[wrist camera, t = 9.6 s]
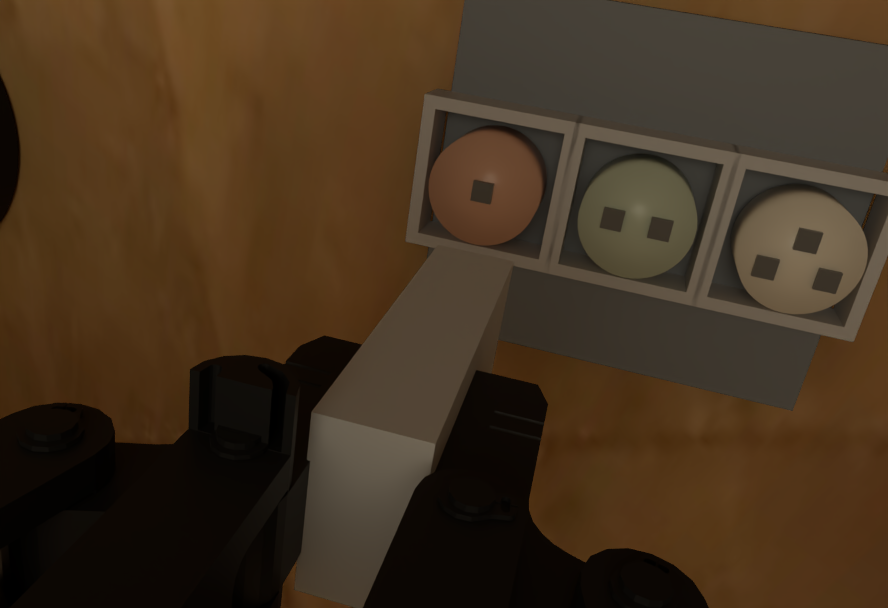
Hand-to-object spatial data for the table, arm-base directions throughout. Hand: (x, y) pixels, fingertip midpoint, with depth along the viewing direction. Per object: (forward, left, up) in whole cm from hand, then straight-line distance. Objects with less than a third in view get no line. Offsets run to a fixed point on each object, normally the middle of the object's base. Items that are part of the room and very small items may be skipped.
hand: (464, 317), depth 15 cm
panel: (+3, -2, -21) cm, 21 cm away
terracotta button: (-3, -2, -18) cm, 18 cm away
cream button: (+9, -2, -18) cm, 21 cm away
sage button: (+3, -2, -18) cm, 19 cm away
